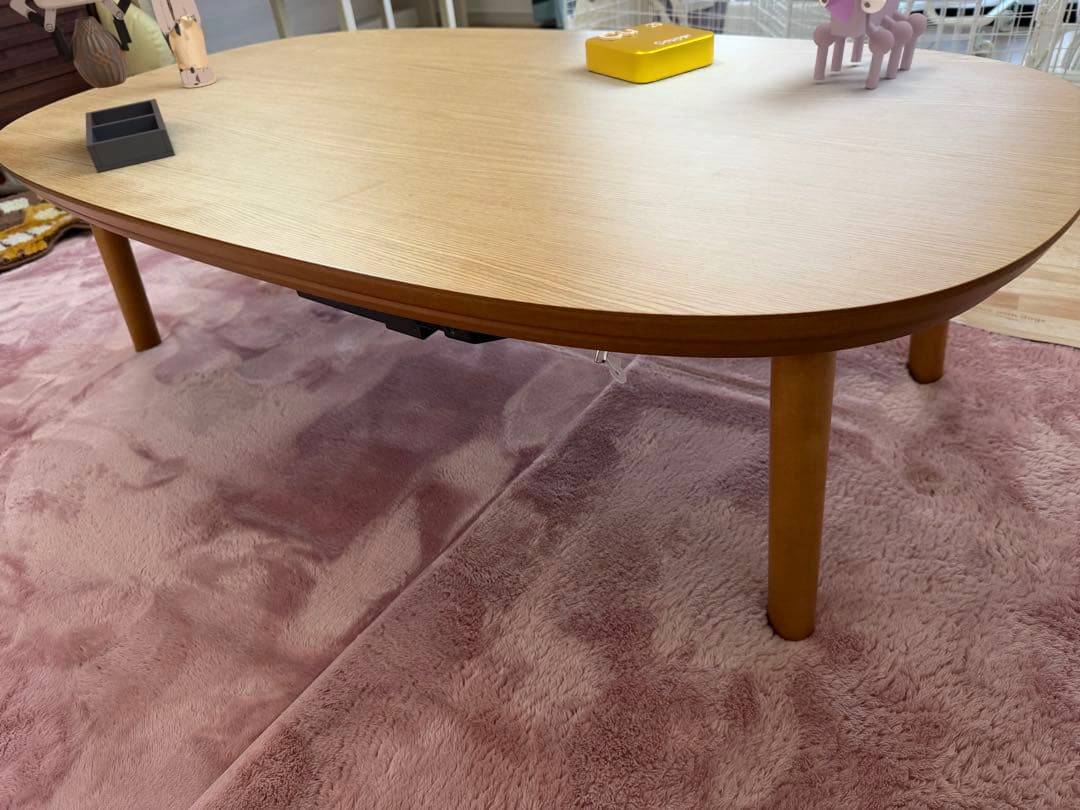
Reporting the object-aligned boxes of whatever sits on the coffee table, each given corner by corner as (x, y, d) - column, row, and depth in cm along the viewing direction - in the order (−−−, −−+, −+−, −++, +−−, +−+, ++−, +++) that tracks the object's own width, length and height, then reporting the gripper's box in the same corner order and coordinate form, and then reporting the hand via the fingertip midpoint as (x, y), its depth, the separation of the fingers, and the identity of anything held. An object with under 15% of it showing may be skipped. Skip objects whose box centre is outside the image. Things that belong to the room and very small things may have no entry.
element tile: (641, 85, 116) (641, 50, 113) (581, 69, 126) (579, 36, 124) (719, 62, 122) (720, 28, 119) (655, 49, 132) (655, 17, 129)
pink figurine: (852, 109, 99) (867, -14, 90) (774, 98, 105) (783, -17, 97) (924, 68, 109) (944, -45, 101) (850, 60, 116) (863, -47, 108)
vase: (140, 82, 115) (115, 15, 110) (89, 94, 112) (61, 26, 107) (130, 75, 120) (105, 10, 114) (81, 86, 117) (54, 20, 112)
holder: (97, 172, 108) (86, 146, 106) (95, 136, 123) (85, 112, 120) (175, 155, 111) (165, 128, 109) (164, 122, 126) (155, 98, 123)
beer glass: (178, 83, 146) (147, -8, 138) (217, 75, 148) (189, -15, 139) (181, 91, 141) (148, -3, 132) (221, 83, 143) (192, -11, 134)
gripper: (111, -103, 108) (160, 39, 119) (-32, -84, 103) (33, 62, 114) (112, -102, 103) (164, 47, 113) (-39, -82, 97) (30, 72, 108)
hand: (98, 53), depth 113 cm, fingers closed on vase, 6 cm apart
